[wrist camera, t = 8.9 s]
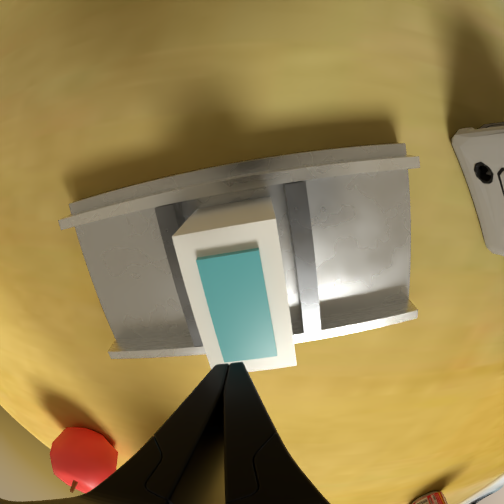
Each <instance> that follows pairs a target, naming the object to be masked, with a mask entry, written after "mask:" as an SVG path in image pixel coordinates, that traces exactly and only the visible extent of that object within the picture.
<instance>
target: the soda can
mask: <svg viewBox="0 0 504 504" xmlns="http://www.w3.org/2000/svg"><path fill="white" fill-rule="evenodd" d="M412 504H447V501H446V498H445V497H444V495H443V493H442V492H437V491H434V492H430V493H427V494H425V495H423V496H421V497H419V498H418V499H416V500H415V501H413V503H412Z"/></svg>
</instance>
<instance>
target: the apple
mask: <svg viewBox="0 0 504 504" xmlns="http://www.w3.org/2000/svg"><path fill="white" fill-rule="evenodd" d="M117 456H118V452H117V451H116V450H115V448H114V447H113V446H112V445H111V444H110V443H109V442H108V441H107V439H106V438H105V437H104V436H103V435H102V434H100V433H97V432H95V431H93V430H91V429H88V428H79V427H67V428H66V429H65V430H64V431H63V432H62V433H61V434H60V435H59V436H58V437H57V438H56V439H55V440H54V441H53V443H52V447H51V451H50V457H51V463H52V468H53V472H54V474H55V475H56V476H57V477H58V478H59V479H61V480H62V481H63V482H65V483H66V484H67V485H69V486H71V489H70V492H72V493H73V491H74V489H77V490H79V491H81V492H83V493H87V492H89V491H91V490H92V489H94V488H95V487H96V486H98V485H99V484H100V483H101V482H103V481H104V480H105V479H106V478H108V477H109V476H110V475H111V474H113V473H114V472H115V471H116V465H117Z"/></svg>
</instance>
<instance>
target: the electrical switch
mask: <svg viewBox="0 0 504 504" xmlns="http://www.w3.org/2000/svg"><path fill="white" fill-rule="evenodd" d="M452 146H453V148H454V151H455V153H456V156H457V158H458V160H459V163H460V165H461V168H462V171H463V173H464V176H465V179H466V181H467V184H468V187H469V190H470V193H471V196H472V199H473V202H474V205H475V208H476V211H477V215H478V218H479V222H480V225H481V229H482V233H483V236H484V240H485V244H486V247H487V248H488V249H489V250H490V251H491V252H492V253H494V254H498V255H502V256H504V122H500V123H492V124H484V125H483V126H482V127H481V128H480V129H474V128H473V127H471V128H463V129H459V130H458V131H457V132H456V134H455V135H454V136H453V138H452Z"/></svg>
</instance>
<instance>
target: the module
mask: <svg viewBox="0 0 504 504" xmlns="http://www.w3.org/2000/svg"><path fill="white" fill-rule="evenodd" d="M172 239H173V243H174V247H175V251H176V255H177V258H178V262H179V266H180V269H181V273H182V277H183V280H184V284H185V287H186V291H187V294H188V298H189V301H190V304H191V308H192V311H193V314H194V318H195V321H196V324H197V327H198V330H199V334H200V337H201V340H202V343H203V346H204V349H205V352H206V355H207V358H208V361H209V364H210V367H211V369H212V368H213V367H214V366H215V365H217V364H225V363H228V364H229V365H230V364H231V363H235V362H243V363H244V365H245V367H246V369H247V371H248V372H252V371H261V370H269V369H276V368H283V367H290V366H297V363H296V355H295V347H294V339H293V332H292V324H291V317H290V310H289V303H288V296H287V289H286V282H285V275H284V268H283V262H282V255H281V248H280V242H279V235H278V229H277V223H276V217H275V213H274V209H273V205H272V201H271V197H270V196H269V197H263V198H257V199H251V200H245V201H239V202H234V203H228V204H223V205H217V206H212V207H206V208H201V209H196V210H195V211H194V213H193V214H192V215H191V216H190V217H189V218H188V219H187V220H186V221H185V222H184V224H183V225H182V226H181V227H180V228H179V229H178V230H177V231H176V233H175V234H174V235H173V236H172Z"/></svg>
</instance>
